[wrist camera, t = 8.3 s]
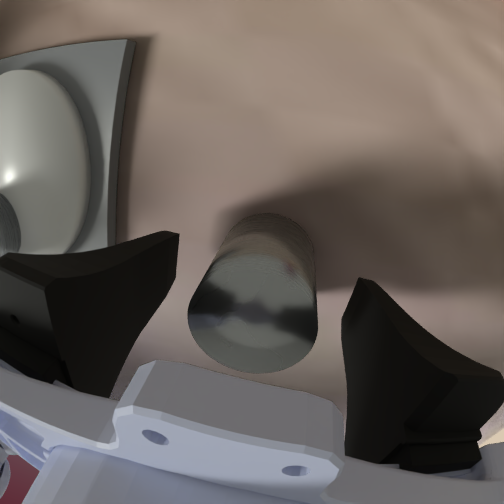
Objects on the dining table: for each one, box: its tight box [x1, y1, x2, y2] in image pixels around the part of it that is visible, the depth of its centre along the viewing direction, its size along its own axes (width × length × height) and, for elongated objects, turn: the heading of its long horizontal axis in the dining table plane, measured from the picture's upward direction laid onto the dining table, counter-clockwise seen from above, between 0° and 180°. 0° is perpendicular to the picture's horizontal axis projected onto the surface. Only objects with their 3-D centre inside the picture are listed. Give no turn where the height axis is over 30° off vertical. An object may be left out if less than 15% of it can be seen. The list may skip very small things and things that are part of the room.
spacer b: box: [188, 213, 318, 373], centre depth 11 cm, size 4×4×5 cm
